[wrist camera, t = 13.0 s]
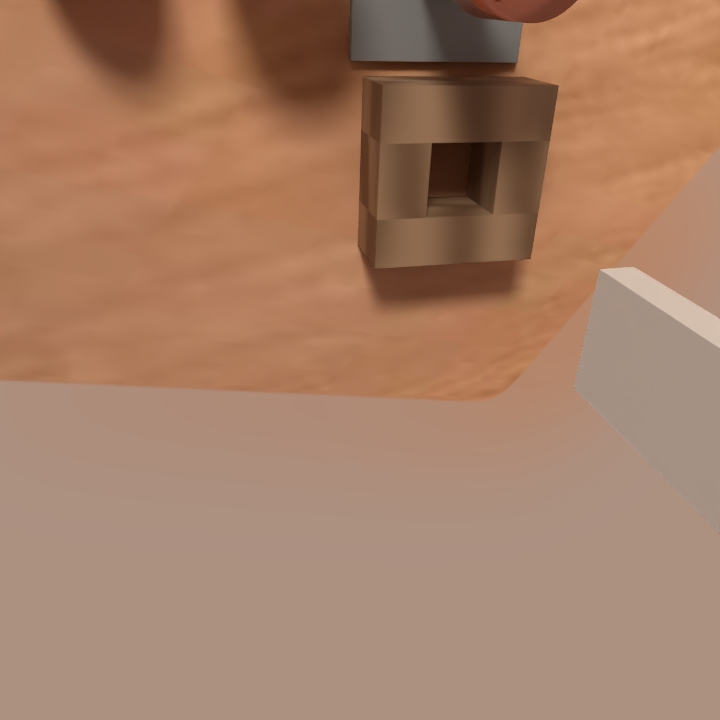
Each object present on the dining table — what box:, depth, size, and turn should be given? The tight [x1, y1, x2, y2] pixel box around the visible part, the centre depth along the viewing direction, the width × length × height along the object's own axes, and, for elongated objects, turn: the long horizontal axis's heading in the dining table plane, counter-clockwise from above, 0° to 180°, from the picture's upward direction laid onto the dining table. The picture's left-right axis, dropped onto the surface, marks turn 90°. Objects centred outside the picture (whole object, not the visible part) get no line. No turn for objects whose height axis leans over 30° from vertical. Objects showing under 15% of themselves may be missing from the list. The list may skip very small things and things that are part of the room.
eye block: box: [358, 76, 559, 269], centre depth 47 cm, size 12×12×5 cm
